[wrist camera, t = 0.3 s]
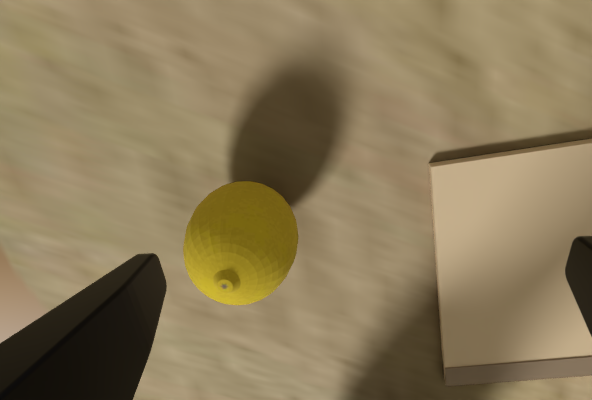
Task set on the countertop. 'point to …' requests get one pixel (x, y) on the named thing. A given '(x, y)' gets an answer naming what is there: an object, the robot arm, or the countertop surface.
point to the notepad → (511, 263)
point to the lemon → (240, 243)
